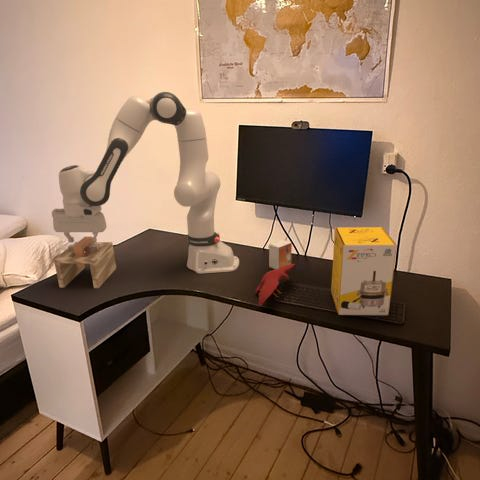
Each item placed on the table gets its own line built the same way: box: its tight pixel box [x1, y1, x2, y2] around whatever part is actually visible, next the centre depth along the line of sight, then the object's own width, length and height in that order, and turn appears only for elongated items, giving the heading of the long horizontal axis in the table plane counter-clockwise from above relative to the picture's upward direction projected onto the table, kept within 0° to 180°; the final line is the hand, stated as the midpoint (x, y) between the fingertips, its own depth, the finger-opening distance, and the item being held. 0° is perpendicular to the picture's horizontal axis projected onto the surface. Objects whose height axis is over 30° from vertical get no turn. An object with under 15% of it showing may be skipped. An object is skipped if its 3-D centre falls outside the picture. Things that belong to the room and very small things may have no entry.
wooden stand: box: [53, 241, 117, 289], centre depth 164 cm, size 16×18×14 cm
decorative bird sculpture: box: [255, 263, 296, 307], centre depth 146 cm, size 28×9×15 cm
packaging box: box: [330, 226, 398, 316], centre depth 137 cm, size 16×16×25 cm
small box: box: [268, 239, 293, 270], centre depth 169 cm, size 8×6×10 cm
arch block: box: [73, 236, 93, 268], centre depth 162 cm, size 10×3×9 cm, turn 175°
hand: (82, 242), depth 161 cm, fingers open, 8 cm apart
